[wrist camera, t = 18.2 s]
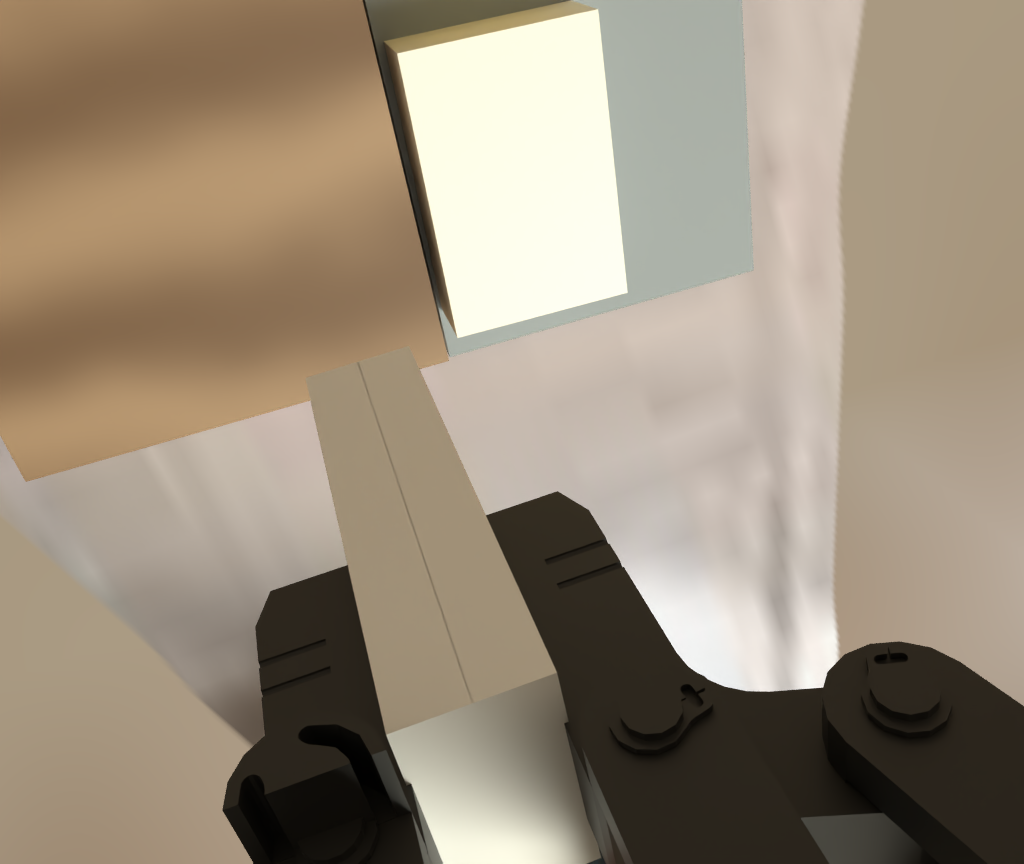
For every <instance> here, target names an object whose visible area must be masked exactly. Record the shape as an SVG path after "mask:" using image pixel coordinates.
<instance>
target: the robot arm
mask: <svg viewBox="0 0 1024 864" xmlns="http://www.w3.org/2000/svg"><path fill="white" fill-rule="evenodd" d="M306 383H307V387H308V391H309V396H310V400H311V405H312V409H313V414H314V418H315V422H316V427H317V431H318V436H319V440H320V445H321V449H322V453H323V458H324V462H325V467H326V471H327V476H328V480H329V484H330V489H331V493H332V498H333V502H334V507H335V511H336V515H337V520H338V524H339V529H340V533H341V538H342V542H343V546H344V551H345V555H346V560H347V564H348V565H347V566H344V567H341V568H338V569H335V570H332V571H329V572H326V573H323V574H320V575H317V576H314V577H311V578H308V579H305V580H302V581H299V582H296V583H293V584H290V585H287V586H284V587H282V588H279V589H276V590H273V591H270V594H269V596H268V599H267V601H266V603H265V606H264V608H263V610H262V613H261V615H260V618H259V620H258V622H257V625H256V639H257V650H258V661H259V664H260V668H259V673H260V684H261V691H262V695H263V697H262V707H263V719H264V730H265V736H264V737H263V738H262V739H261V740H260V741H259V742H258V743H257V744H255V745H254V746H253V747H252V748H251V749H250V750H249V751H248V752H247V753H246V754H245V755H244V756H243V758H242V759H241V761H240V762H239V764H238V766H237V768H236V769H235V771H234V772H233V774H232V776H231V777H230V779H229V781H228V783H227V789H226V794H225V800H224V805H223V812H224V814H225V815H226V817H227V819H228V820H229V822H230V824H231V825H232V827H233V829H234V831H235V832H236V834H237V836H238V837H239V839H240V841H241V842H242V844H243V846H244V848H245V849H246V851H247V853H248V854H249V856H250V858H251V859H252V861H253V864H587V863H589V862H592V861H594V860H597V859H600V858H601V855H600V851H601V853H602V856H603V858H604V860H605V863H606V864H1024V706H1023V705H1021V704H1020V703H1018V702H1017V701H1015V700H1014V699H1012V698H1011V697H1010V696H1008V695H1007V694H1005V693H1004V692H1002V691H1001V690H1000V689H998V688H997V687H995V686H994V685H992V684H991V683H990V682H988V681H987V680H985V679H984V678H982V677H981V676H979V675H978V674H976V673H975V672H973V671H972V670H971V669H969V668H968V667H966V666H965V665H963V664H962V663H961V662H959V661H957V660H955V659H953V658H951V657H949V656H947V655H945V654H943V653H941V652H939V651H937V650H935V649H933V648H930V647H925V646H920V645H915V644H910V643H904V642H889V643H876V644H869V645H866V646H864V647H862V648H859V649H857V650H854V651H852V652H849V653H847V654H845V655H844V656H843V657H842V658H841V659H840V660H839V661H838V662H837V663H836V664H835V665H834V666H833V667H832V668H831V669H830V670H829V671H828V673H827V676H826V680H825V683H824V687H823V688H813V689H800V690H787V691H774V692H754V691H742V690H738V689H733V688H728V687H724V686H721V685H719V684H717V683H714V682H712V681H710V680H707V679H706V678H705V676H703V675H700V674H698V673H696V672H695V671H693V670H692V669H691V668H689V667H688V666H687V665H686V664H685V662H684V661H683V660H682V659H681V658H680V656H679V655H678V654H677V653H676V651H675V650H674V648H673V646H672V645H671V643H670V641H669V640H668V638H667V637H666V635H665V633H664V632H663V630H662V628H661V627H660V625H659V624H658V622H657V620H656V619H655V617H654V615H653V614H652V612H651V611H650V609H649V607H648V606H647V604H646V602H645V601H644V599H643V598H642V596H641V594H640V593H639V591H638V589H637V588H636V586H635V585H634V583H633V581H632V580H631V578H630V576H629V575H628V573H627V572H626V570H625V568H624V567H623V568H622V566H621V563H620V560H619V559H618V557H617V555H616V554H615V552H614V550H613V549H612V547H611V546H610V544H608V543H607V540H606V537H605V536H604V534H603V533H602V531H601V529H600V528H599V526H598V524H597V523H596V521H595V520H594V518H593V516H592V515H591V513H590V511H589V510H588V509H586V508H584V507H583V506H581V505H579V504H578V503H576V502H574V501H573V500H571V499H569V498H568V497H566V496H564V495H563V494H561V493H559V492H558V491H557V492H554V493H551V494H548V495H545V496H542V497H540V498H537V499H534V500H531V501H528V502H525V503H522V504H519V505H516V506H513V507H510V508H507V509H504V510H501V511H498V512H495V513H492V514H489V515H485V513H484V510H483V508H482V506H481V504H480V502H479V499H478V497H477V495H476V493H475V491H474V488H473V486H472V484H471V482H470V480H469V477H468V475H467V473H466V471H465V469H464V466H463V464H462V462H461V460H460V458H459V455H458V453H457V451H456V449H455V446H454V444H453V442H452V440H451V438H450V435H449V433H448V431H447V429H446V427H445V424H444V422H443V420H442V418H441V416H440V413H439V411H438V409H437V407H436V405H435V402H434V400H433V398H432V396H431V394H430V391H429V389H428V387H427V385H426V382H425V380H424V378H423V376H422V374H421V371H420V369H419V367H418V365H417V363H416V360H415V358H414V356H413V354H412V352H411V349H410V347H409V346H407V347H404V348H401V349H398V350H394V351H391V352H388V353H385V354H381V355H378V356H375V357H372V358H368V359H365V360H362V361H359V362H355V363H352V364H349V365H346V366H342V367H339V368H336V369H333V370H329V371H326V372H323V373H320V374H317V375H313V376H310V377H307V378H306ZM598 846H599V847H598ZM599 848H600V851H599Z"/></svg>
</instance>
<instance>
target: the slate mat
mask: <svg viewBox="0 0 1024 864" xmlns="http://www.w3.org/2000/svg"><path fill="white" fill-rule="evenodd" d="M565 1H570V0H363V4H364V9H365V13H366V17H367V21H368V25H369V29H370V34H371V38H372V42H373V46H374V50H375V54H376V59H377V63H378V67H379V71H380V75H381V79H382V84H383V88H384V92H385V96H386V100H387V105H388V109H389V113H390V117H391V121H392V125H393V130H394V134H395V138H396V142H397V146H398V150H399V155H400V159H401V163H402V167H403V171H404V175H405V180H406V184H407V188H408V192H409V196H410V201H411V205H412V209H413V213H414V217H415V221H416V226H417V230H418V234H419V238H420V242H421V246H422V251H423V255H424V259H425V263H426V267H427V271H428V276H429V280H430V284H431V288H432V292H433V297H434V301H435V305H436V309H437V313H438V317H439V322H440V326H441V330H442V334H443V338H444V342H445V347H446V350H447V352H448V354H449V356H450V357H452V356H456V355H459V354H463V353H466V352H470V351H473V350H477V349H480V348H484V347H487V346H491V345H494V344H498V343H501V342H505V341H508V340H512V339H515V338H519V337H522V336H526V335H529V334H533V333H536V332H540V331H543V330H547V329H550V328H554V327H557V326H561V325H564V324H568V323H571V322H575V321H578V320H582V319H585V318H589V317H592V316H596V315H599V314H603V313H606V312H610V311H613V310H617V309H620V308H624V307H627V306H631V305H634V304H638V303H641V302H645V301H648V300H652V299H655V298H659V297H662V296H666V295H669V294H673V293H676V292H680V291H683V290H687V289H690V288H694V287H697V286H701V285H704V284H708V283H711V282H715V281H718V280H722V279H725V278H729V277H732V276H736V275H739V274H743V273H746V272H750V271H753V270H754V266H753V243H752V221H751V198H750V175H749V152H748V129H747V106H746V84H745V61H744V38H743V15H742V0H572V1H575V2H578V3H581V4H584V5H587V6H590V7H593V8H596V9H598V13H599V22H600V32H601V42H602V51H603V61H604V70H605V80H606V90H607V99H608V109H609V119H610V128H611V138H612V148H613V157H614V167H615V176H616V186H617V196H618V205H619V215H620V225H621V234H622V244H623V254H624V263H625V273H626V282H627V292H628V293H624V294H621V295H617V296H613V297H609V298H606V299H602V300H598V301H594V302H591V303H587V304H583V305H579V306H576V307H572V308H568V309H565V310H561V311H557V312H553V313H550V314H546V315H542V316H538V317H535V318H531V319H527V320H523V321H520V322H516V323H512V324H508V325H505V326H501V327H497V328H493V329H490V330H486V331H482V332H478V333H475V334H471V335H467V336H463V337H460V338H457V336H456V334H455V333H454V331H453V329H452V327H451V325H450V323H449V321H448V320H447V318H446V316H445V314H444V312H443V310H442V306H441V302H440V297H439V293H438V288H437V283H436V279H435V274H434V270H433V265H432V260H431V256H430V251H429V247H428V242H427V238H426V233H425V228H424V224H423V219H422V215H421V210H420V205H419V201H418V196H417V192H416V187H415V182H414V178H413V173H412V169H411V164H410V159H409V155H408V150H407V146H406V141H405V136H404V132H403V127H402V123H401V118H400V113H399V109H398V104H397V100H396V95H395V91H394V86H393V81H392V77H391V72H390V68H389V63H388V58H387V54H386V49H385V45H384V41H387V40H392V39H396V38H401V37H405V36H410V35H415V34H419V33H424V32H428V31H433V30H437V29H442V28H447V27H451V26H456V25H460V24H465V23H469V22H474V21H479V20H483V19H488V18H492V17H497V16H501V15H506V14H511V13H515V12H520V11H524V10H529V9H533V8H538V7H543V6H547V5H552V4H556V3H561V2H565Z"/></svg>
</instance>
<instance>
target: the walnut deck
mask: <svg viewBox="0 0 1024 864" xmlns="http://www.w3.org/2000/svg"><path fill="white" fill-rule="evenodd" d="M407 346H409V347H410V349H411V352H412V354H413V356H414V358H415V360H416V363H417V365H418V367H419V369H422V368H425V367H429V366H432V365H436V364H439V363H443V362H446V361H449V359H448V355H447V351H446V347H445V342H444V338H443V334H442V330H441V326H440V322H439V317H438V313H437V309H436V305H435V301H434V297H433V292H432V288H431V284H430V280H429V276H428V271H427V267H426V263H425V259H424V255H423V251H422V246H421V242H420V238H419V234H418V230H417V226H416V221H415V217H414V213H413V209H412V205H411V201H410V196H409V192H408V188H407V184H406V180H405V175H404V171H403V167H402V163H401V159H400V155H399V150H398V146H397V142H396V138H395V134H394V130H393V125H392V121H391V117H390V113H389V109H388V105H387V100H386V96H385V92H384V88H383V84H382V79H381V75H380V71H379V67H378V63H377V59H376V54H375V50H374V46H373V42H372V38H371V34H370V29H369V25H368V21H367V17H366V13H365V9H364V4H363V0H0V436H1V438H2V439H3V441H4V443H5V445H6V447H7V449H8V450H9V452H10V454H11V456H12V458H13V459H14V461H15V463H16V465H17V467H18V469H19V470H20V472H21V474H22V476H23V478H24V479H25V481H26V482H27V481H30V480H34V479H37V478H41V477H44V476H48V475H51V474H55V473H58V472H62V471H65V470H69V469H72V468H76V467H79V466H83V465H86V464H90V463H93V462H97V461H100V460H104V459H107V458H111V457H114V456H118V455H121V454H125V453H128V452H132V451H135V450H139V449H142V448H146V447H149V446H153V445H156V444H160V443H163V442H167V441H170V440H174V439H177V438H181V437H184V436H188V435H191V434H195V433H198V432H202V431H205V430H209V429H212V428H216V427H219V426H223V425H226V424H230V423H233V422H237V421H240V420H244V419H247V418H251V417H254V416H258V415H261V414H265V413H268V412H272V411H275V410H279V409H282V408H285V407H289V406H292V405H296V404H299V403H303V402H306V401H310V396H309V391H308V387H307V383H306V378H307V377H310V376H313V375H317V374H320V373H323V372H326V371H329V370H333V369H336V368H339V367H342V366H346V365H349V364H352V363H355V362H359V361H362V360H365V359H368V358H372V357H375V356H378V355H381V354H385V353H388V352H391V351H394V350H398V349H401V348H404V347H407Z"/></svg>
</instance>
